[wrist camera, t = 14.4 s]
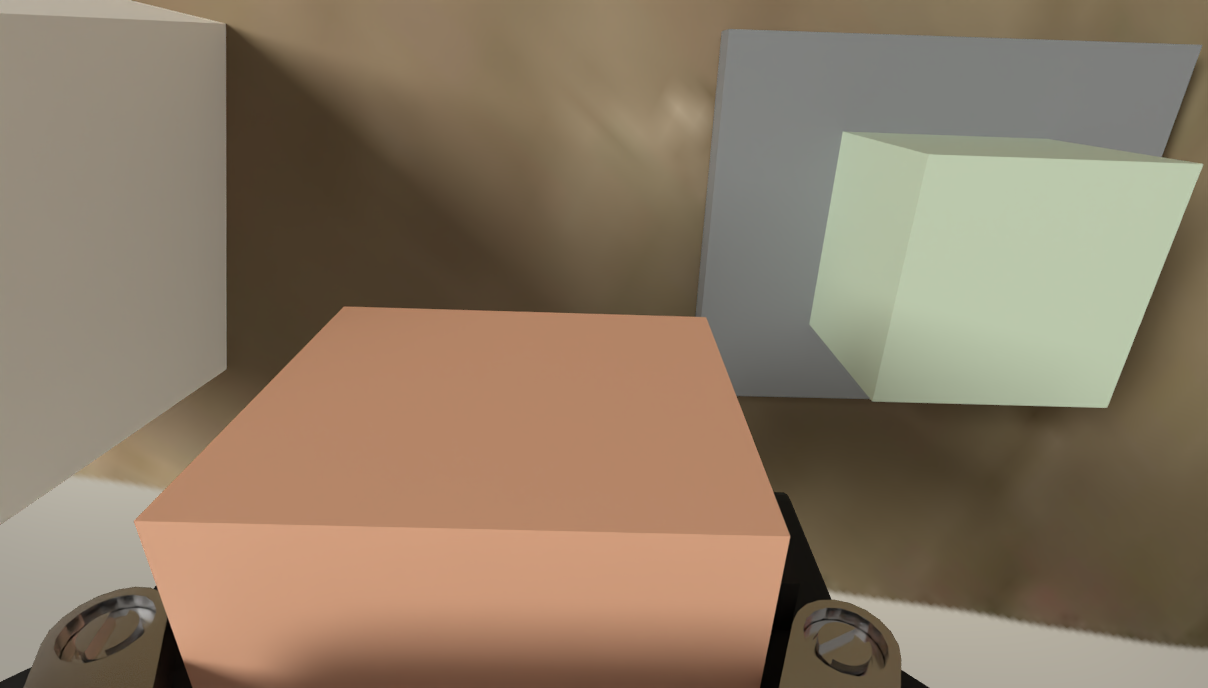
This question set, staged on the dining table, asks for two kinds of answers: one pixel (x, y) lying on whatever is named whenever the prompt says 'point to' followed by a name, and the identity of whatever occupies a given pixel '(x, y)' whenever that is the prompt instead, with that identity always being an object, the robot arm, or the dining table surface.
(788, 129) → the gray plate
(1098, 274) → the sage block
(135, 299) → the milk
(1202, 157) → the dining table surface
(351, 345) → the terracotta block
